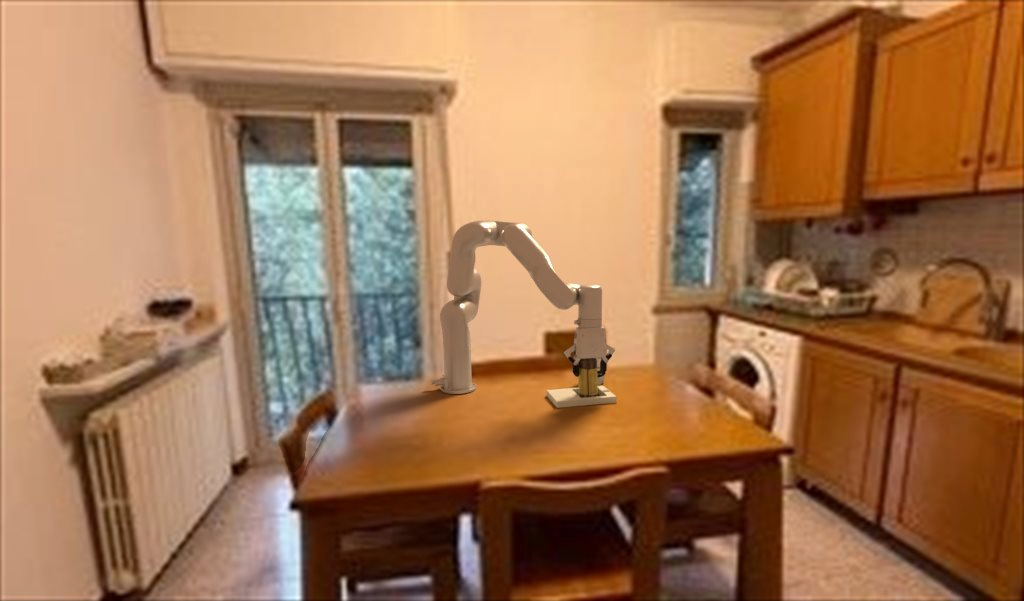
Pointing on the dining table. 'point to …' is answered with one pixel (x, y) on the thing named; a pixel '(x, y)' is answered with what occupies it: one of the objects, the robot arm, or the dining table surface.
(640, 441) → the dining table surface
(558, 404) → the board
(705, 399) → the dining table surface
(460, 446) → the dining table surface
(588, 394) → the sauce bottle
